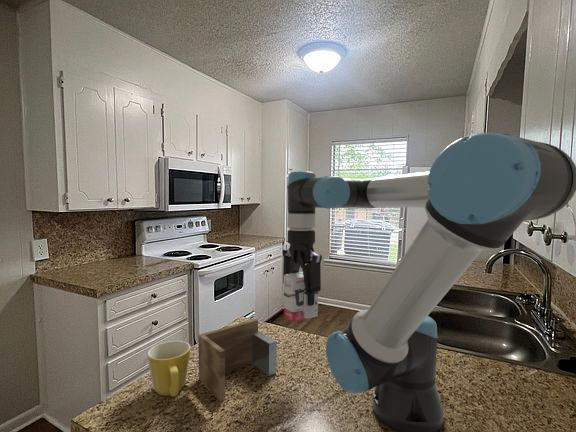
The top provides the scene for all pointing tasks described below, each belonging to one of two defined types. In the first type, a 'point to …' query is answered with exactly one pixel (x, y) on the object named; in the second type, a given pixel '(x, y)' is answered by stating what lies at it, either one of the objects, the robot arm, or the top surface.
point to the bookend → (264, 353)
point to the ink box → (296, 297)
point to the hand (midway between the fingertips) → (300, 313)
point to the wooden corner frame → (224, 354)
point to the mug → (169, 366)
